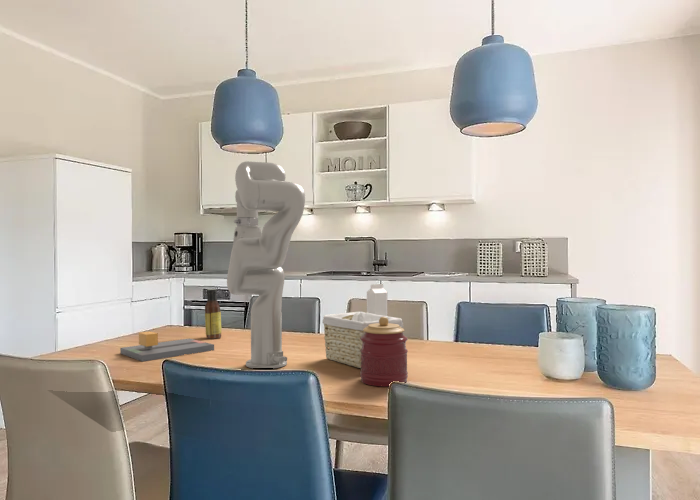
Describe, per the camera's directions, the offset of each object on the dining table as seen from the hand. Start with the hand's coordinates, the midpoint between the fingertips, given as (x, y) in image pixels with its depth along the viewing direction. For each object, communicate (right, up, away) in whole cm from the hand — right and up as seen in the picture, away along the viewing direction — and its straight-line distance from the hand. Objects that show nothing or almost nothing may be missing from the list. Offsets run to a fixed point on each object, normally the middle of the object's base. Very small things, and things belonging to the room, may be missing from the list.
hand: (247, 274), depth 186 cm
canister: (+46, -27, -44) cm, 70 cm away
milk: (+47, -27, +19) cm, 58 cm away
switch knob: (-33, -25, -8) cm, 42 cm away
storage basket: (+40, -27, -20) cm, 53 cm away
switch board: (-28, -27, -3) cm, 39 cm away
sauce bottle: (-19, -27, +25) cm, 42 cm away
